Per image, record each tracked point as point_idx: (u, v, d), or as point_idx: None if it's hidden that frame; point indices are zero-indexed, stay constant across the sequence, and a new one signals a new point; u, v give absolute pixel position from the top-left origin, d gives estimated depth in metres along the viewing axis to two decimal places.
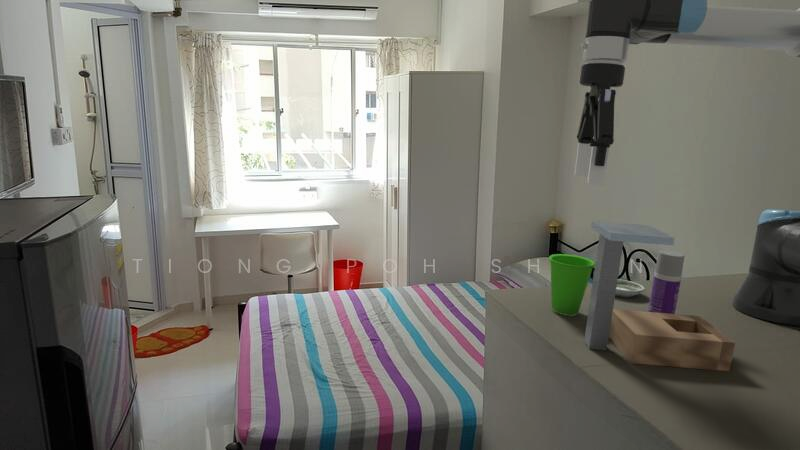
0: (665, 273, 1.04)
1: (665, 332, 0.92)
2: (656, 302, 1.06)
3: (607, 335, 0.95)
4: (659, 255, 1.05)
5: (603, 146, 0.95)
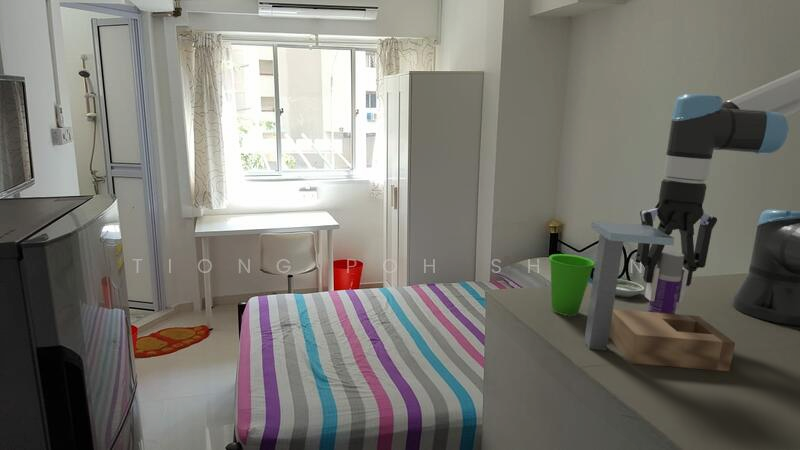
0: (665, 273, 1.04)
1: (665, 332, 0.92)
2: (656, 302, 1.06)
3: (607, 335, 0.95)
4: None
5: (645, 264, 1.06)
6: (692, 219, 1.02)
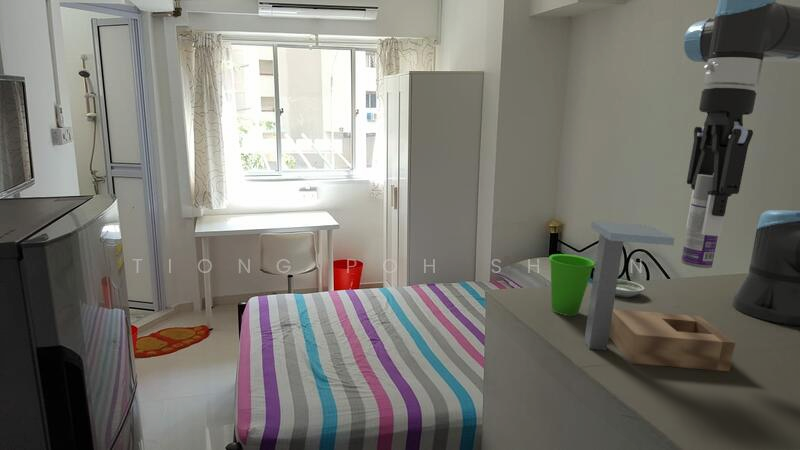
0: None
1: (665, 332, 0.92)
2: (716, 236, 0.90)
3: (607, 335, 0.95)
4: None
5: (725, 195, 0.86)
6: None
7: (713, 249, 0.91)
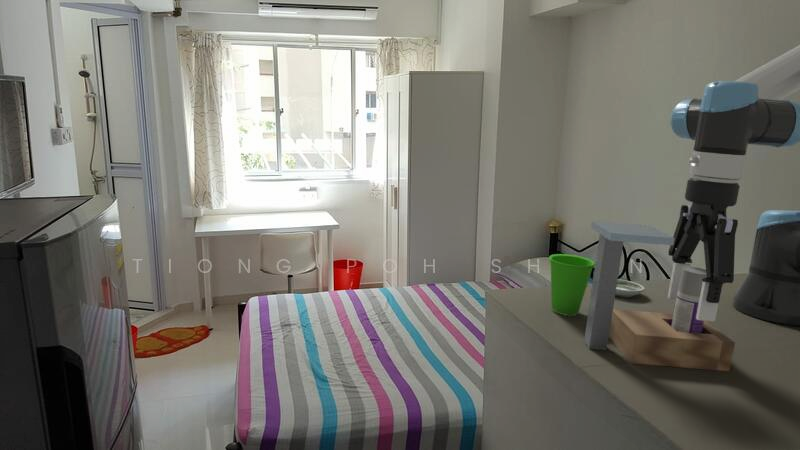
0: None
1: (665, 332, 0.92)
2: (700, 328, 0.93)
3: (607, 335, 0.95)
4: (703, 277, 0.91)
5: (719, 283, 0.86)
6: None
7: None
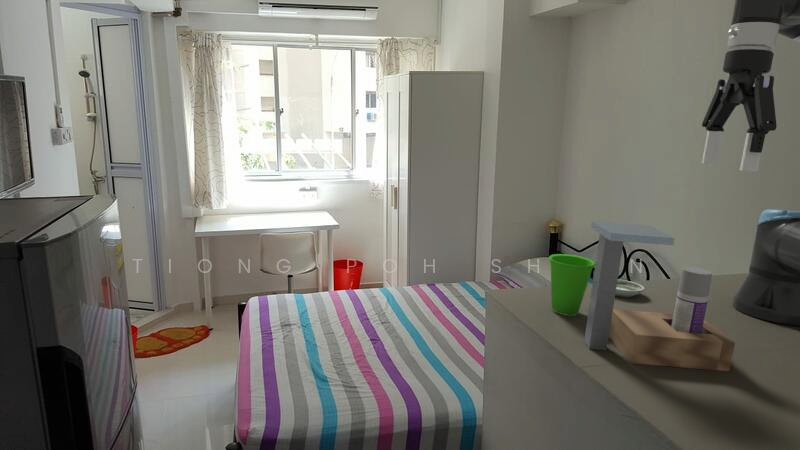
0: (708, 294, 0.93)
1: (665, 332, 0.92)
2: (700, 328, 0.93)
3: (607, 335, 0.95)
4: (703, 277, 0.91)
5: (762, 132, 0.95)
6: None
7: None
